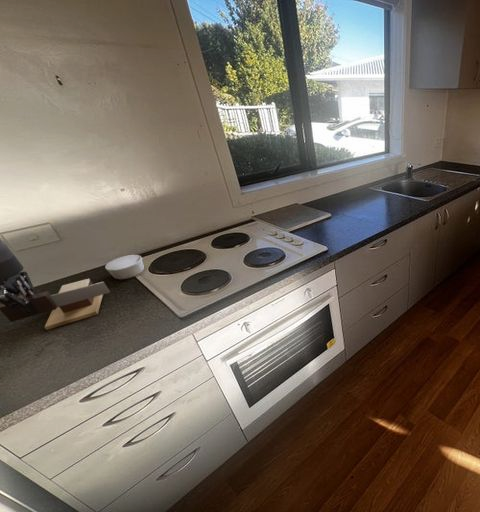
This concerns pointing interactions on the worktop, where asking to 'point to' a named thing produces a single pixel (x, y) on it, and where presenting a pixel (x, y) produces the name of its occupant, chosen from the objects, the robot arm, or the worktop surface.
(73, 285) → the cake
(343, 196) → the worktop surface
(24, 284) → the robot arm
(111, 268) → the ramekin
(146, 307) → the worktop surface
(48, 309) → the knife
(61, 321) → the board
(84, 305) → the cake slice
